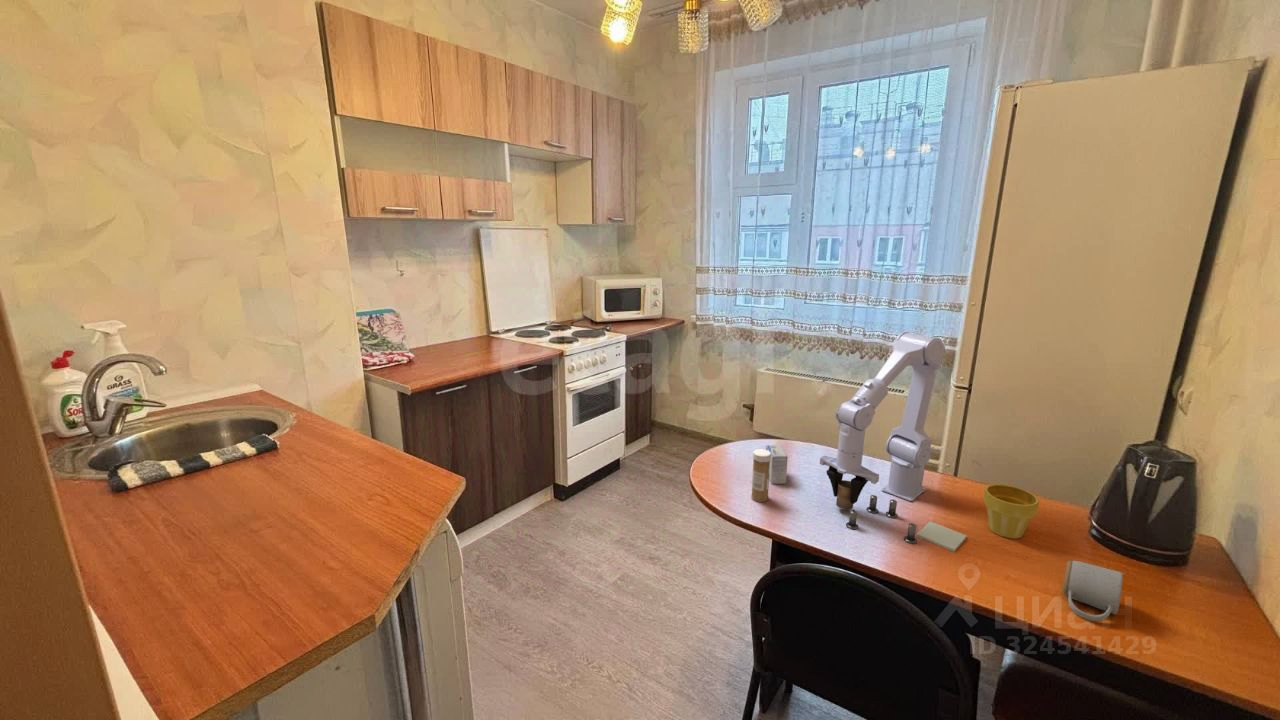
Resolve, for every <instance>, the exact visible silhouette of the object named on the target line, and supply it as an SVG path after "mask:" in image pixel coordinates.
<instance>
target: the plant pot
mask: <svg viewBox="0 0 1280 720" xmlns="http://www.w3.org/2000/svg"><path fill="white" fill-rule="evenodd" d="M983 503H984V505H986V513H987V524H988V525H987V527H988V528H989V530H990V531H991V532H993V533H994V534H995V535H998V536H1000V537H1003V538H1005V539H1006V538H1008V539H1014V540H1015V539H1020V538H1022V537H1023V535H1024V533H1025V531H1026V529H1027V528H1028V525H1029V523H1030V522H1031V519H1032V518H1034V517H1035V516H1036V515H1037V512H1038V509H1039V503H1040V501H1039V498H1038V497H1037V496H1036V495H1034V493H1032V492H1030V491H1028V490H1026V489H1024V488H1021V487H1019V486H1013V485H1010V484H1002V483H993V484H992V483H991V484H988V485H987V486H985V489H984V493H983Z"/></svg>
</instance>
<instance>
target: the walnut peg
mask: <svg viewBox="0 0 1280 720" xmlns="http://www.w3.org/2000/svg"><path fill="white" fill-rule="evenodd" d="M851 493H852V487H851V480H843V479H842V481H839V482H838V491H837V497H836V501H835V502H836V504H835V505H836V507H838V508H839V509H841V510H848V511H850V510H853V508H854V504H852V503H851Z"/></svg>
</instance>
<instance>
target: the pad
mask: <svg viewBox="0 0 1280 720" xmlns="http://www.w3.org/2000/svg"><path fill="white" fill-rule="evenodd" d="M967 536H968V535H966V534H963V533H962V532H958V531H957V530H954V529H951V528H948V527H946V526H943V525H940V524H938V523H935V522H932V521H929V522H928V523H926V525H924V526H923V527H922V528H921V529H920V530H919V531H918V532H917V533H916V537H917V538H920V539H922V540H924V541H927V542H929V543H932V544H934V545H936V546H939V547H941V548H944V549H946V550H948V551H951V552H954V553H955V551H957V550H958V549H959V547H961V545H962V544H963V543H964V541H965V540H966V539H967V538H968V537H967Z"/></svg>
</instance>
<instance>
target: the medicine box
mask: <svg viewBox="0 0 1280 720" xmlns="http://www.w3.org/2000/svg"><path fill="white" fill-rule="evenodd" d="M765 450H767V451H769V452H770V453H771V460H770V468H769V483H770V484H771V485H784V484H785V485H786V484H787V474H788V458H789V457H788V455H787V453H786V452H785V450H784V448H783V447H782V445H781V444H768V445H766V447H765Z"/></svg>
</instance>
